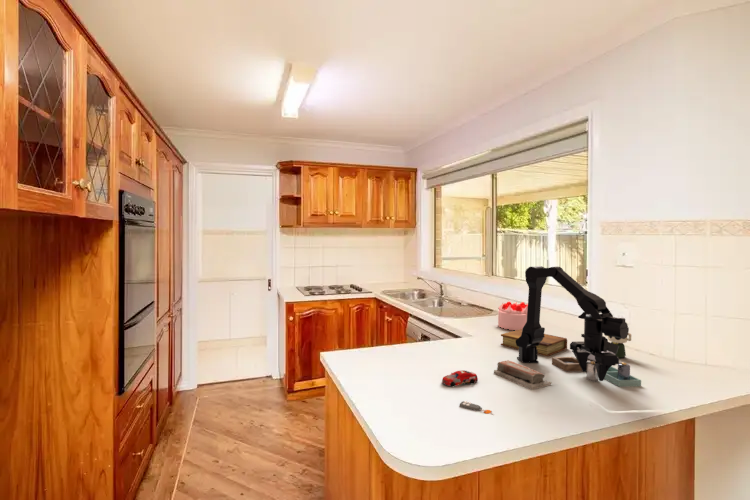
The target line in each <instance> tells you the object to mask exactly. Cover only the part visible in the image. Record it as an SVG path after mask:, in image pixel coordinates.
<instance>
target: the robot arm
mask: <svg viewBox="0 0 750 500" xmlns="http://www.w3.org/2000/svg"><path fill="white" fill-rule="evenodd" d="M524 276H525V282H526V285H527V287H528V298H527V304H528V309H527V322H526V324H525V325H524V327H523V329H522V334H521V336H520V337H519V338H518V339H517V340H516V341H515V342H516V345H517V346H519V349H518V356H516V359H518V360H519V361H520V362H522V363H523V364H525V363H529V364H531V363H539V360H538V355H539V354H538V350H537V347H536V346H539V344H540V342H541V341H542V340H543V338H544V337H545V336H544V334H545V331H546V329H545V327H542V326H541V324H540V323H541V322H540V321H541V320H540V319H541V307H542V304H541V303H542V292H543V291H542V289H543V287H544V286H545V284H546V282H547V278H550V277H552V279H554V281H556V282H557V283H558V284H559V285H560V286H561V287H562V288H563V289H565V290H566V291H567V292H568V294H570V295H571V296H573V298H574V299H575V300H576V302H577V305H578V306H579V308H580V309H581V310H582V313H581V314H580V315H578V319H583V321H584V322H583V325H584V326H583V333H581V335H580V336H581V337H582V338H583V341H571V342H570V344H569V349H570V350H571V352H572V353H573V355H574V357H575V358H576V359H577V361H578V363H579V365H580V367H581V369H582V371H581V372H583V373H585V372H586V373H587V371H586V369H587V362H588V360H589V359H588V356H589V355H590V354H592V355H594V356H595V360H596V361H597V362H596V361H594V362H595V366H596V370H597V374H598V381H600V382H604V380H605V379H604V378H605V375H606V373H607V371H608V369H609V368H610V367H611V366H612V367H613V366H617V365H618V364H619V363H620V357H618V356H617V355H614V354H617V351H618V348H619V346H618V345H615V344H613V343H611V341H609V340H608V336H611V337H616V338H621V339H625V338H626V337H627V338H628V337H629V335H628V333H630V332H629V325H628V323H627V322H626V317H625V318H624V317H615V316H613V314H612V312H611V311H610V309H609V308H608V306H607V305H606V304H607V302H606V301H605V300H604V299H603V298H602V297H600V296H599V295H597V294H595V293H593V292H591V291H589V290H587V289H586V288H584V287H583V286H582V285H580V284H579V283H578V281H576V280H575V279H574V278H572V276H570V275H569V274H568V273H567V272H566V271H564V269H563V268H562V267H561V266H551V267H545V266H540V265H539V266H538V265H537V266H528V268H526V270H525V271H524ZM603 334H604V335H603ZM605 335H607V336H605ZM607 351H610V352H613V353H614V354H612V353H610V352H609V353H602V352H607Z"/></svg>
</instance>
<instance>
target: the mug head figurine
mask: <svg viewBox="0 0 750 500" xmlns="http://www.w3.org/2000/svg"><path fill="white" fill-rule="evenodd" d="M604 337H607V339H608V342H610V343H613V344H615V345H618V346H619V348H618V351H617V354H615V355H617V356H618V357H619V358H625V357H626V356H627V355H626V354H627V353H626V346H625V344H626V343H627V342H631V341H632V334H631V333H630V332H628V336H627V337H626V338H625V339H621V338H616V337H611V336H607V335H604Z"/></svg>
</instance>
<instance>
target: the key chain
mask: <svg viewBox="0 0 750 500" xmlns="http://www.w3.org/2000/svg"><path fill="white" fill-rule="evenodd" d="M459 407H460V408H463V409H466V410H470V411H475V412H481V411H483V413H484V414H487V415H488V414H490V415H492V416H495V414H494V413H493V412H492V410H490V409H483V407H481V406H480V405H478V404H475V403H472V402H470V401H469V402H468V400H467V401H464V400H463V401H461V402H460V403H459Z"/></svg>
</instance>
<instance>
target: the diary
mask: <svg viewBox="0 0 750 500" xmlns="http://www.w3.org/2000/svg"><path fill="white" fill-rule="evenodd" d="M521 334H522V329H519V330H515V331H513V330H510V331H508V332H505V333H501V334H500V337H502V343H500V346H504V347H508V348H512V349H517V350H519V346H517V345H516V342H515V341H516V340H517V339H518V338H519V337H520V336H521ZM544 336H545V337H544V338H543V340H542V341H541V342H540V344H539V346H536V347H537V350H538V355H540V356H544V357H550V356H552V355H555V354H558V353H560V352H563V351H566V350H567V349H568V339H567V338H566V337H563V336H557V335H551V334H546V333H544Z"/></svg>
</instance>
